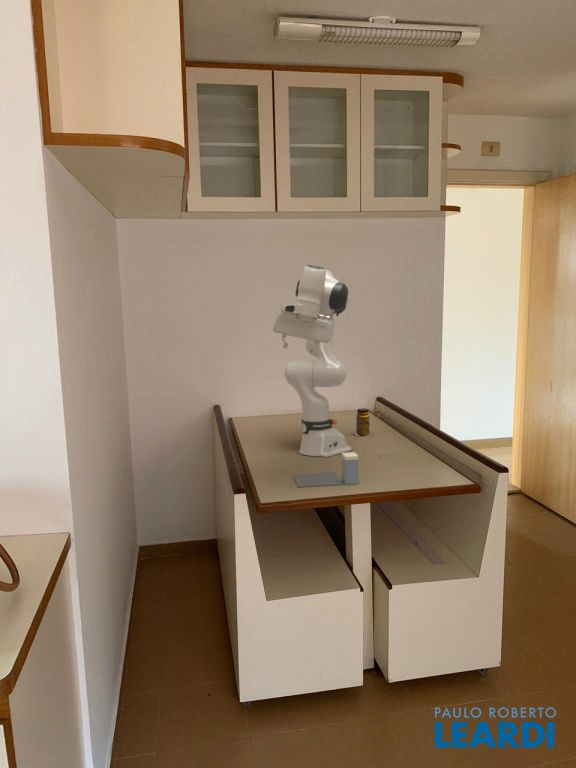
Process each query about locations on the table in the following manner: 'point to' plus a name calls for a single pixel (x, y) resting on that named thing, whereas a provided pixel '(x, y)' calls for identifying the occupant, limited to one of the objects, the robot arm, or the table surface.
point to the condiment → (362, 422)
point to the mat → (317, 479)
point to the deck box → (350, 468)
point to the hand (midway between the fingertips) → (298, 351)
